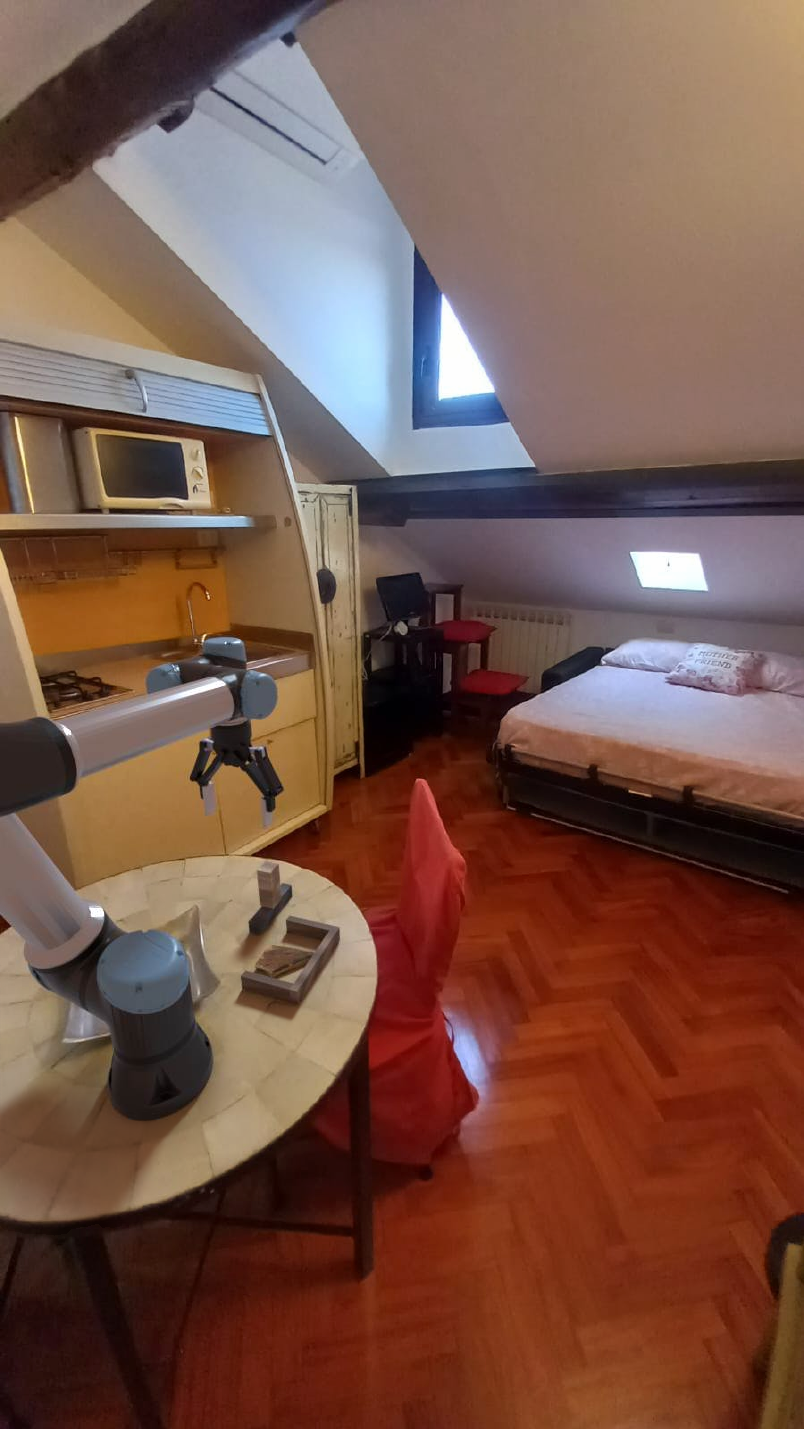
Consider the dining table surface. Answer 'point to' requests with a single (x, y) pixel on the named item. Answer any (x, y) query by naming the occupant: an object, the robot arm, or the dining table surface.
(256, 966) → the shard
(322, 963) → the walnut bay
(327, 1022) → the dining table surface
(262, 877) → the scraper
